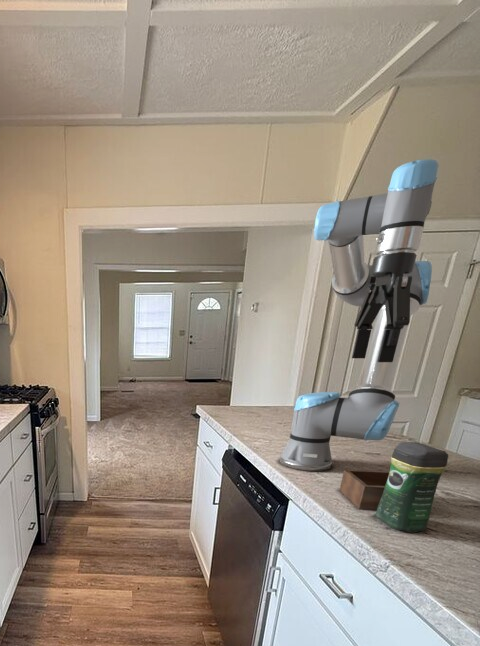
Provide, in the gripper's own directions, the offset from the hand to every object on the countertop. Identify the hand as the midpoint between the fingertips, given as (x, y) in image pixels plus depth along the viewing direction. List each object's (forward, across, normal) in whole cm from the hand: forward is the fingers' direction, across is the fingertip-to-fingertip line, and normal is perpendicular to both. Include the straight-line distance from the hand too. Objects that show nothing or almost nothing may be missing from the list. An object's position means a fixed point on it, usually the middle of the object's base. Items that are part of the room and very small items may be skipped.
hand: (370, 360), depth 93 cm
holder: (+35, 0, +10) cm, 36 cm away
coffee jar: (+35, +14, +8) cm, 38 cm away
